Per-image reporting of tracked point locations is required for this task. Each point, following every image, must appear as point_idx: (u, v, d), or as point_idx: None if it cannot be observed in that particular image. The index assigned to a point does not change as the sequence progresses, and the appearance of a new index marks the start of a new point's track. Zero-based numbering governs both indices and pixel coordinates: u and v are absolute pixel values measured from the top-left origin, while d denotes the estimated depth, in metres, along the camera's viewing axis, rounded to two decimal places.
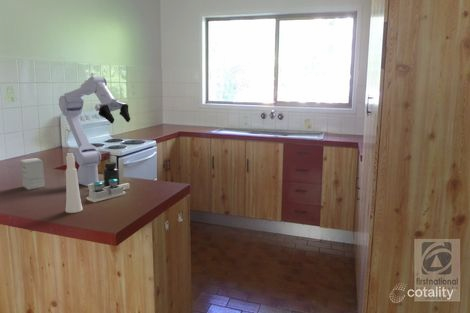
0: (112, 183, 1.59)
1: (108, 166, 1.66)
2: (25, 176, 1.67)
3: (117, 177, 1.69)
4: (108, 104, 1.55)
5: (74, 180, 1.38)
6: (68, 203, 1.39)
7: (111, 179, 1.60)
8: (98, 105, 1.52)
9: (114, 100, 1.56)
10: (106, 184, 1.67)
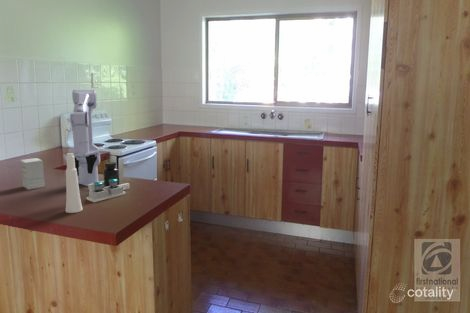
0: (112, 183, 1.59)
1: (108, 166, 1.66)
2: (25, 176, 1.67)
3: (117, 177, 1.69)
4: (78, 155, 1.49)
5: (74, 180, 1.38)
6: (68, 203, 1.39)
7: (111, 179, 1.60)
8: None
9: (86, 155, 1.50)
10: (106, 184, 1.67)
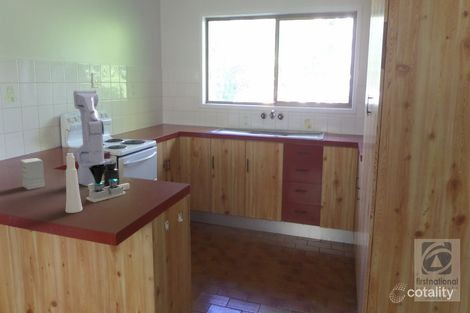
0: (112, 183, 1.59)
1: (108, 166, 1.66)
2: (25, 176, 1.67)
3: (117, 177, 1.69)
4: None
5: (74, 180, 1.38)
6: (68, 203, 1.39)
7: (111, 179, 1.60)
8: (83, 166, 1.48)
9: (101, 164, 1.51)
10: (106, 184, 1.67)
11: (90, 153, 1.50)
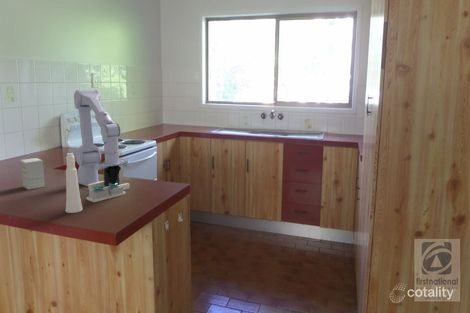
0: (112, 187, 1.59)
1: None
2: (25, 176, 1.67)
3: (117, 177, 1.69)
4: (109, 165, 1.56)
5: (74, 180, 1.38)
6: (68, 203, 1.39)
7: (111, 183, 1.61)
8: (99, 167, 1.53)
9: (116, 165, 1.57)
10: (106, 184, 1.67)
11: (106, 154, 1.56)
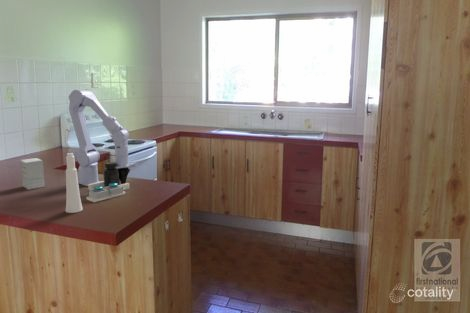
0: (112, 187, 1.59)
1: (108, 166, 1.66)
2: (25, 176, 1.67)
3: (117, 177, 1.69)
4: (120, 167, 1.71)
5: (74, 180, 1.38)
6: (68, 203, 1.39)
7: (111, 183, 1.61)
8: None
9: (126, 167, 1.71)
10: (106, 184, 1.67)
11: (117, 157, 1.70)
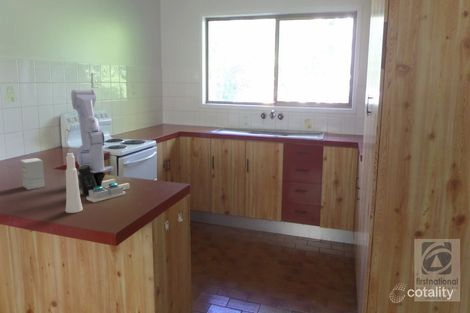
0: (112, 187, 1.59)
1: (81, 171, 1.57)
2: (25, 176, 1.67)
3: (93, 181, 1.59)
4: (94, 172, 1.61)
5: (74, 180, 1.38)
6: (68, 203, 1.39)
7: (111, 183, 1.61)
8: None
9: (102, 171, 1.61)
10: (83, 189, 1.59)
11: (91, 161, 1.60)
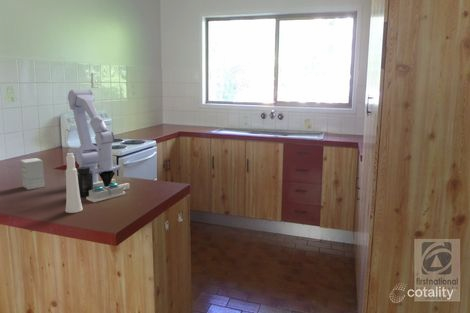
0: (112, 187, 1.59)
1: (80, 171, 1.57)
2: (25, 176, 1.67)
3: (90, 183, 1.59)
4: (103, 170, 1.65)
5: (74, 180, 1.38)
6: (68, 203, 1.39)
7: (111, 183, 1.61)
8: (94, 172, 1.62)
9: (110, 170, 1.65)
10: None
11: (100, 160, 1.64)
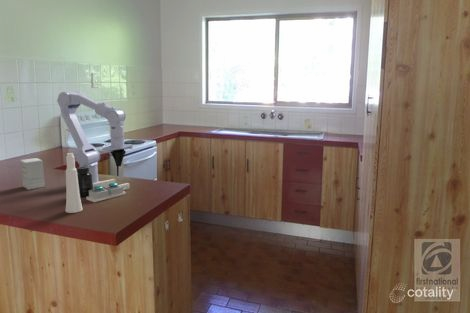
0: (112, 187, 1.59)
1: (80, 171, 1.57)
2: (25, 176, 1.67)
3: (90, 183, 1.59)
4: (115, 148, 1.68)
5: (74, 180, 1.38)
6: (68, 203, 1.39)
7: (111, 183, 1.61)
8: (106, 150, 1.65)
9: (122, 148, 1.68)
10: None
11: (112, 139, 1.67)
